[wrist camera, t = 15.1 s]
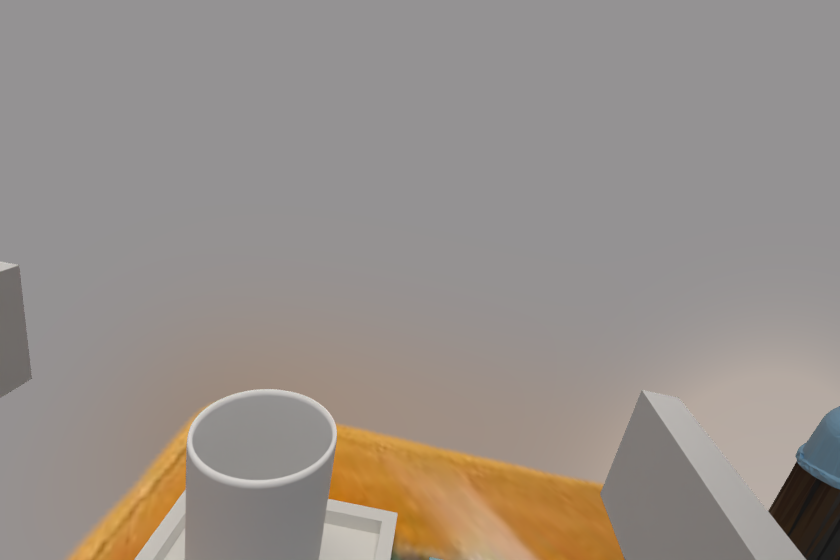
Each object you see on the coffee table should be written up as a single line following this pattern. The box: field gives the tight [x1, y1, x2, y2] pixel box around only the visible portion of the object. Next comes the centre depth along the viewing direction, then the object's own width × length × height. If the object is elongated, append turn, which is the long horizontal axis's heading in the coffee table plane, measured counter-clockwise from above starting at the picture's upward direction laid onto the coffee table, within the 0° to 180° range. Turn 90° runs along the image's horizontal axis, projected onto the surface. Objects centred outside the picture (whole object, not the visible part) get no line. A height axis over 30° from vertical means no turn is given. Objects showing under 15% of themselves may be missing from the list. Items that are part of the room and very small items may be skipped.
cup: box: [185, 389, 337, 560], centre depth 30 cm, size 8×8×16 cm
